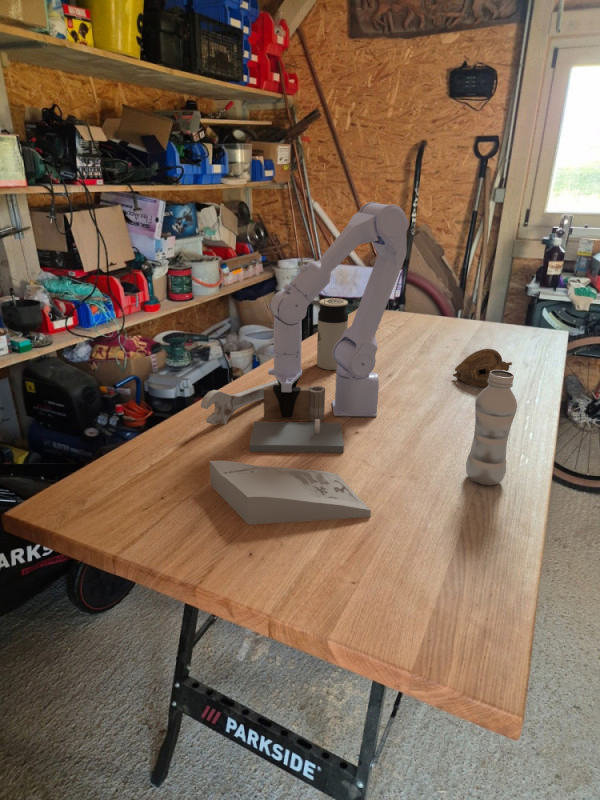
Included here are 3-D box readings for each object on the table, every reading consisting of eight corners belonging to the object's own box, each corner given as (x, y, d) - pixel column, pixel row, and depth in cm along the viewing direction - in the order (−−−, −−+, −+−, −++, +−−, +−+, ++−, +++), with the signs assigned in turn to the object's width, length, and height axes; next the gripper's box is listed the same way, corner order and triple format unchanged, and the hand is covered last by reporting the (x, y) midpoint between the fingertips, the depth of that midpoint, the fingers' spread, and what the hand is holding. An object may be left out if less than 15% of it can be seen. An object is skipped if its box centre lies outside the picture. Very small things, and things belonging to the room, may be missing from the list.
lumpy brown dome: (443, 360, 133) (505, 347, 125) (461, 334, 153) (515, 322, 146) (454, 396, 136) (515, 386, 128) (469, 366, 156) (523, 356, 148)
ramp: (378, 490, 90) (380, 463, 88) (363, 549, 76) (366, 518, 74) (226, 466, 97) (225, 440, 95) (187, 516, 83) (184, 486, 81)
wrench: (287, 400, 132) (206, 433, 107) (281, 398, 133) (199, 431, 108) (290, 369, 129) (207, 395, 105) (283, 367, 130) (200, 393, 106)
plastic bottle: (498, 494, 89) (520, 384, 81) (458, 482, 92) (475, 375, 84) (507, 477, 94) (528, 371, 86) (469, 466, 97) (485, 364, 89)
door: (263, 421, 113) (263, 391, 111) (264, 414, 117) (264, 385, 114) (324, 422, 113) (325, 392, 111) (323, 415, 117) (324, 385, 114)
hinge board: (340, 429, 111) (341, 409, 109) (343, 452, 101) (344, 431, 100) (254, 428, 111) (253, 408, 109) (249, 451, 101) (249, 430, 100)
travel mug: (346, 362, 149) (350, 298, 142) (344, 371, 142) (347, 305, 135) (318, 360, 150) (320, 297, 143) (314, 369, 143) (316, 304, 136)
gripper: (270, 339, 116) (270, 396, 121) (265, 361, 102) (266, 424, 108) (302, 340, 116) (301, 397, 121) (302, 362, 102) (301, 425, 108)
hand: (287, 410), depth 114 cm, fingers open, 6 cm apart
